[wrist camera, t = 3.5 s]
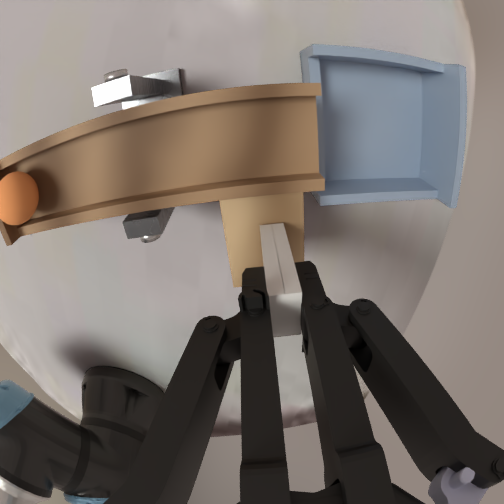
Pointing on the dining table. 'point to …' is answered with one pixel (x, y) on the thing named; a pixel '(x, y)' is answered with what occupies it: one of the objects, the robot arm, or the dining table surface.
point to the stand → (131, 95)
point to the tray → (387, 125)
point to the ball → (18, 198)
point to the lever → (185, 165)
